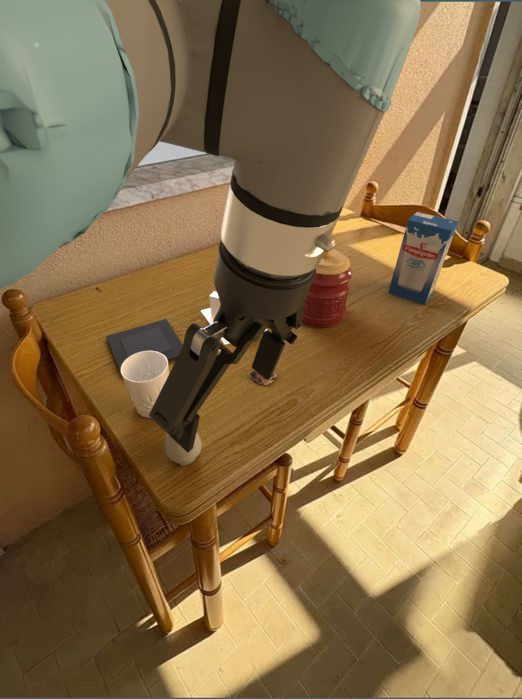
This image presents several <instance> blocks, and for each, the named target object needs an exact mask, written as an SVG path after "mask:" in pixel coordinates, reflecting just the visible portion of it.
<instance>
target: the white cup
mask: <svg viewBox="0 0 522 699" xmlns="http://www.w3.org/2000/svg"><path fill="white" fill-rule="evenodd" d="M120 371H121V373H120V375H121V377H122V380H123V382H124V385H125V387H126V390H127V392H128V395H129V397H130V399H131V402H132V403H133V405H134V407H135V409H136V410H135V411H136V412H137V414H139V415H140V416H141V417H142V418H148V419H152V418H151V417H150V416H149V414H150V412H151V410H152V408H153V406H154V404H155V402H156V400H157V398H158V396H159V394H160V392H161V390H162V388H163V385H164V383H165V381H166V379H167V377H168V375H169V373H170V366H169V362H168V360H167V358H166V357H165V356H164V355H163V354H161V353H159V352H156V351H142V352H138V353H135V354H133V355H131V356H130V357H128V358H127V359H126V360H125V361H124V362H123V364H122V365H121V370H119V372H120Z"/></svg>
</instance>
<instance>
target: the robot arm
mask: <svg viewBox="0 0 522 699" xmlns="http://www.w3.org/2000/svg"><path fill="white" fill-rule="evenodd" d="M421 4H422V3H421V0H0V290H2V289H4V288H6V287H8V286H11V285H14V284H16V283H17V282H19V281H20V280H22V279H23V278H25V277H27V276H28V275H29V274H31V273H33V272H34V271H35V270H36V269H37V268H38V267H40V266H41V265H42V264H43V263H44V262H45V261H46V260H47V259H49V257H50V256H52V255H53V254H54V253H55V252H56V251H57V250H58V249H60V248H63V247H64V246H66V245H68V244H70V243H72V242H73V241H75V240H76V239H78V238H79V237H80V236H82V235H83V234H85V233H86V232H87V231H88V230H89V229H90V228H91V227H92V225H93V224H94V223H95V222H96V221H97V220H98V219H99V218H100V217H101V216H102V215H103V214H104V213H106V212H107V211H108V210H109V209H110V207H111V206H112V204H113V203H114V201H115V200H116V198H117V197H118V196H119V194H120V192H121V191H122V190H123V187H124V186H125V185H126V183H127V180H128V178H129V177H130V176H131V174H132V173H133V172H134V171H135V170H136V168H137V167H138V166H139V164H140V163H141V162H142V161H143V160H144V158H145V157H146V156H147V155H148V154H149V153H150V152H151V151H152V150H154V148H155V147H156V146H157V145H158V144H159V143H165V144H169V145H173V146H177V147H181V148H184V149H189V150H192V151H197V152H201V153H205V154H207V155H211V156H215V157H219V156H220V157H225V158H229V159H232V160H233V168H232V171H231V178H230V182H229V187H228V192H227V197H226V203H225V207H224V212H223V217H222V222H221V228H220V237H221V240H220V242H219V246H218V249H217V257H216V262H215V266H214V272H213V284H214V288H215V291H216V292H217V294H218V297H219V300H220V307H219V310H218V312H217V314H216V315H215V317H214V320H213V324H211V325H210V324H209V325H208V326H205V327H202V326H201V325H200V324H198V322H193V323H191V324H190V325H189V326H188V327H187V329H186V331H185V334H184V339H183V343H182V345H183V347H182V349H181V351H180V353H179V355H178V357H177V359H176V360H174V363H173V365H172V368H171V369H170V370H169V375H168V377H167V379H166V381H165V383H164V385H163V388H162V390H161V392H160V394H159V396H158V398H157V400H156V402H155V404H154V406H153V408H152V410H151V412H150V414H149V416H150V417H151V418H150V419H151V420H152V421H153V422H155V423H156V425H158V426H159V428H161V429H162V430H163V431H164V432H165V433H166V432H167V433H168V434H169V435H170V437H171V438H172V439H174V440H175V441H176V442H177V443H178V444H179V445H180V446H181V447H182V448H183V449H184V450H185V451H186V452H187V453H188V452H190V451H191V450H192V449H193V447H194V442H195V437H196V433H198V428H199V423H200V418H201V415H200V414H198V412H199V410H200V409H201V408H202V406H203V404H204V403H205V402H206V400H207V399H208V397H209V396H210V395H211V393H212V392H213V390H214V389H215V387H216V386H217V385H218V384H219V381H220V380H222V379H221V378H222V377H223V376H224V374H225V373H226V371H227V370H228V369H229V368H230V366H231V365H237V364H238V363H239V362H240V361H241V359H242V358H243V357H244V355H245V354H246V353H247V351H248V350H249V348H250V347H251V345H252V344H253V343H255V342H257V341H258V340H259V339H260V341H259V344H258V346H257V350H256V353H255V356H254V358H253V361H252V364H251V369H253V371H254V370H255V371H257V372H258V373H259V374H260V375H262V376H263V377H264V378H265V379H267V380H271V379H270V378H271V377H272V374H273V372H274V373H275V370H276V368H277V365H278V363H279V360H280V358H281V355H282V353H283V350H284V348H285V346H286V342H287V343H288V344H290V345H293V344H294V343H295V342H296V340H297V339H298V335H297V334H296V333H294V332H293V331H292V329H295V330H298V329H299V328H301V327H302V324H303V323H302V322H303V309H304V301H305V298H306V296H307V293H308V291H309V289H310V286H311V284H312V282H313V279H314V277H315V274H316V267H317V266H318V265H319V263H320V261H321V258H322V256H323V254H324V251H325V252H329V251H332V249H334V247H336V246H335V245H336V239H334V238H333V237H332V234H333V232H334V230H335V227H336V225H337V223H338V221H339V218H340V216H341V214H342V212H343V208H344V206H345V203H346V201H347V198H348V196H349V194H350V192H351V190H352V188H353V185H354V184H355V181H356V178H357V176H358V175H359V172H360V170H361V168H362V165H363V163H364V160H365V158H366V156H367V154H368V151H369V149H370V147H371V145H372V142H373V141H374V138H375V136H376V134H377V132H378V129H379V127H380V125H381V123H382V120H383V118H384V115H385V113H387V112H388V111H389V109H390V107H391V104H392V97H393V95H394V91H395V89H396V87H397V84H398V81H399V78H400V76H401V73H402V70H403V68H404V65H405V62H406V60H407V57H408V54H409V52H410V48H411V45H412V43H413V39H414V36H415V34H416V30H417V27H418V25H419V22H420V19H421V12H422V11H421V10H422V9H421ZM266 329H267V330H266ZM265 330H266V331H265ZM270 330H271V331H270ZM222 337H223V338H224V339H225V340H227V341H228V342H229V344H230V345H231V346H233V347H234V348H235V349H234V350H233V351H231V350H230V349H228V347H226V346H225V344H222V343H221V341H220V340H221V338H222ZM260 337H261V338H260ZM285 341H286V342H285Z"/></svg>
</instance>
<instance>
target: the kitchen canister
mask: <svg viewBox="0 0 522 699" xmlns="http://www.w3.org/2000/svg"><path fill="white" fill-rule="evenodd" d="M352 276H353V270H352V269H351V261H350V259H349V257H347V256H346V255H344V254H343V253H342V252H341V251H339V250H336V249H334V248H333V249H332V251H329V252H325V251H324V254H323V256H322V258H321V261H320V263H319V265H318V266H317V267H316V274H315V277H314V279H313V282H312V284H311V286H310V289H309V291H308V293H307V296H306V298H305V301H304V309H303V322H302V324H304V325H306V326H309V327H313V328H330V327H333V326H335V325H337V324H339V323H340V322H341V321H342V320H343V319H344V318H343V317H344V315H345V314H346V308H347V307H346V305H347V300H348V293H349V291H350V289H351V288H350V287H351V285H350V282H349V281H350V280H351V279H352Z"/></svg>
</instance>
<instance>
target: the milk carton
mask: <svg viewBox="0 0 522 699" xmlns="http://www.w3.org/2000/svg"><path fill="white" fill-rule="evenodd" d="M458 225H459V221H458V220H453V219H449V218H445V217H441V216H437V215H433V214H428V213H425V212H420V211H416V212H415V213H414V214H412V215H411V216H410V217H409V218H408V219H407V222H406V226H405V230H404V234H403V237H402V241H401V244H400V248H399V252H398V256H397V258H396V263H395V266H394V270H393V274H392V276H391V280H390V284H389V288H388V292H387V293H388V294H390V295H394V296H397V297H400V298H403V299H405V300H408V301H411V302H414V303H417V304H420V305H423V306H425V305H426V304H427V302H428V301H429V300H430V298H431V297H432V295H433V293H434V291H435V288H436V286H437V283H438V279H439V276H440V274H441V271H442V268H443V266H444V262H445V261H446V257H447V254H448V252H449V249H450V246H451V244H452V241H453V239H454V235H455V232H456V231H457V228H458Z"/></svg>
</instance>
